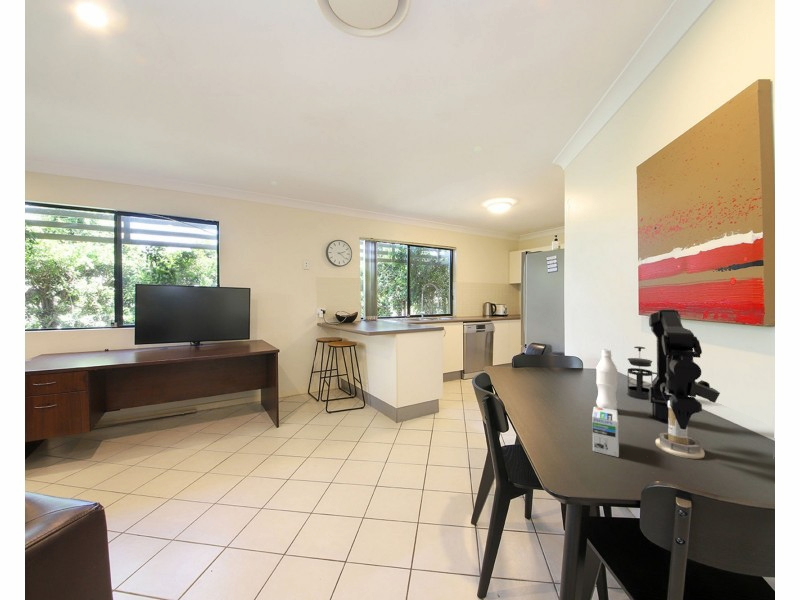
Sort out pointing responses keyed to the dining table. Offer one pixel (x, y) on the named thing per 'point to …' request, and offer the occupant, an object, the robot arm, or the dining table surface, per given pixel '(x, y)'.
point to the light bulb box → (605, 431)
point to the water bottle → (606, 381)
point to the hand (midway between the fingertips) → (679, 423)
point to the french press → (639, 377)
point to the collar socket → (680, 447)
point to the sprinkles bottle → (675, 429)
